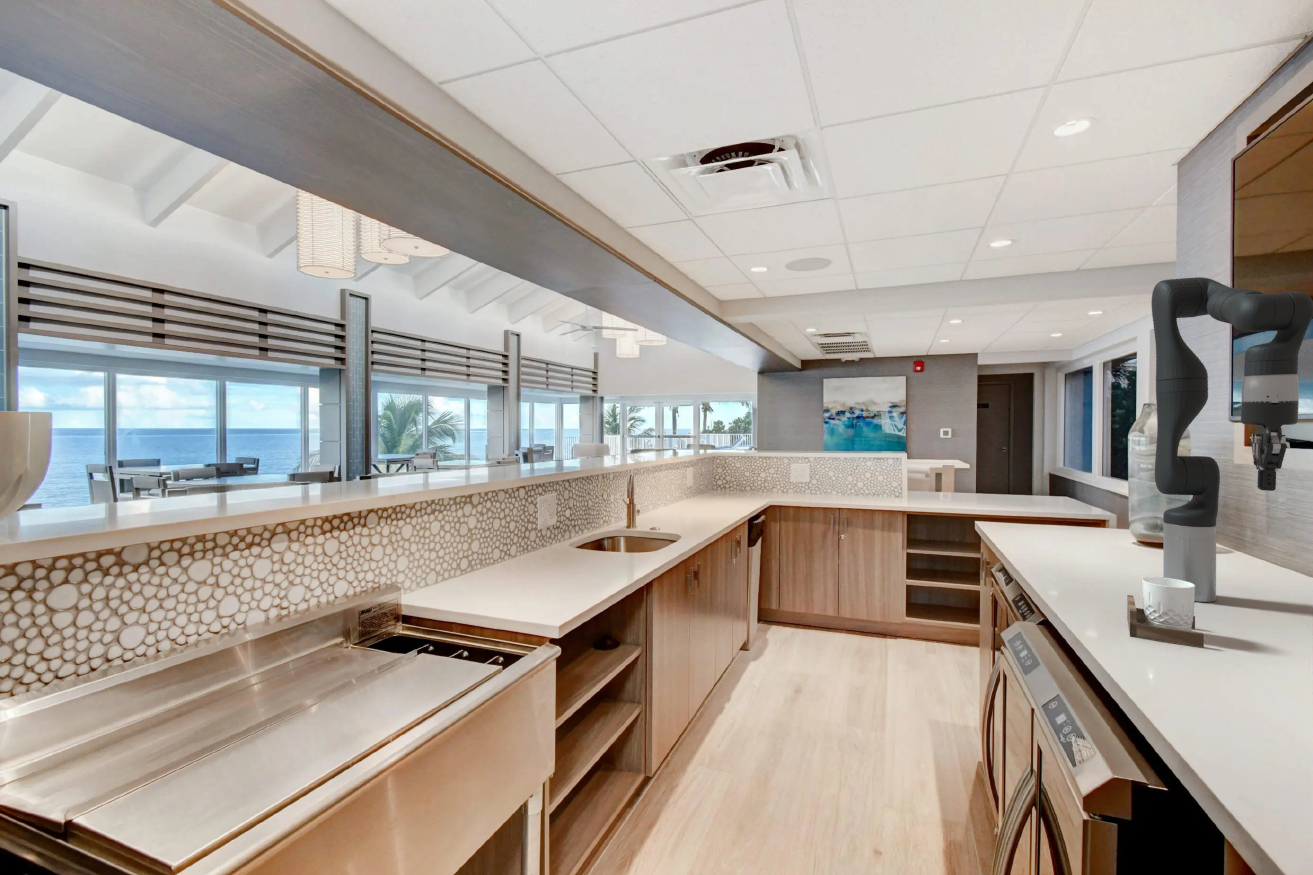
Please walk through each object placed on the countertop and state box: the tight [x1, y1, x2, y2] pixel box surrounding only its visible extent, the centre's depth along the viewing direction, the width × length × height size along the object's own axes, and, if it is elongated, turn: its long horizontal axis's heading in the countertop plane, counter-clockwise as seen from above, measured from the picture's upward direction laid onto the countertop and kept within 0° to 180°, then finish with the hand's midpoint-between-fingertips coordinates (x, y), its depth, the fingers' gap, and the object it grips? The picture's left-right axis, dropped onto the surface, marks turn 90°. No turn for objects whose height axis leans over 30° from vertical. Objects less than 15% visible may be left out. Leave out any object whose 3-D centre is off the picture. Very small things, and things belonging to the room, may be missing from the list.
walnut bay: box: [1126, 594, 1205, 649], centre depth 115 cm, size 13×10×5 cm
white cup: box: [1141, 576, 1195, 631], centre depth 115 cm, size 8×8×10 cm
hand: (1266, 489), depth 112 cm, fingers closed
